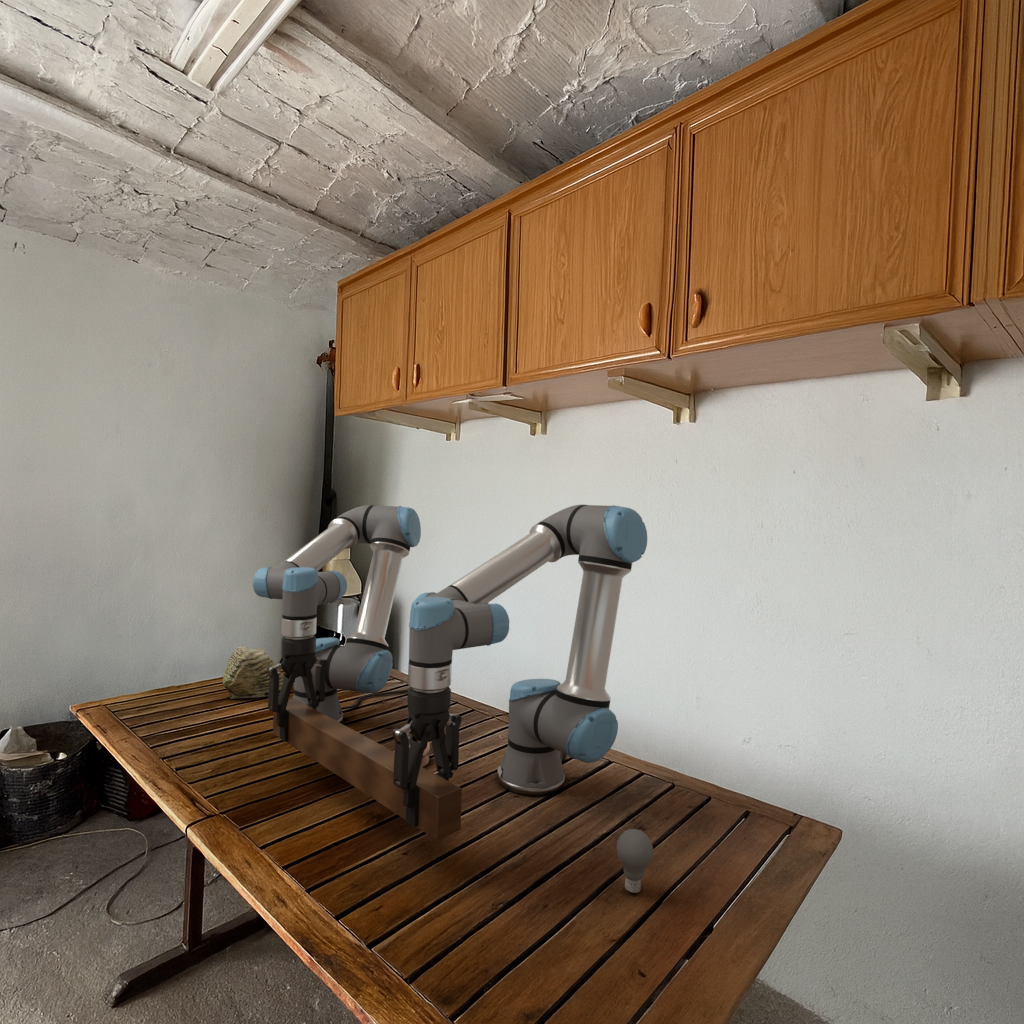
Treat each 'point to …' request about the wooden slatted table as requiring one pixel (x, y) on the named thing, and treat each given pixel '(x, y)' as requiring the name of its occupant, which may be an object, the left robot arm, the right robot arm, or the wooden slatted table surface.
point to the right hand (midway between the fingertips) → (425, 817)
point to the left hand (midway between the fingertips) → (296, 736)
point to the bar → (371, 768)
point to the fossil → (248, 673)
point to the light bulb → (634, 857)
